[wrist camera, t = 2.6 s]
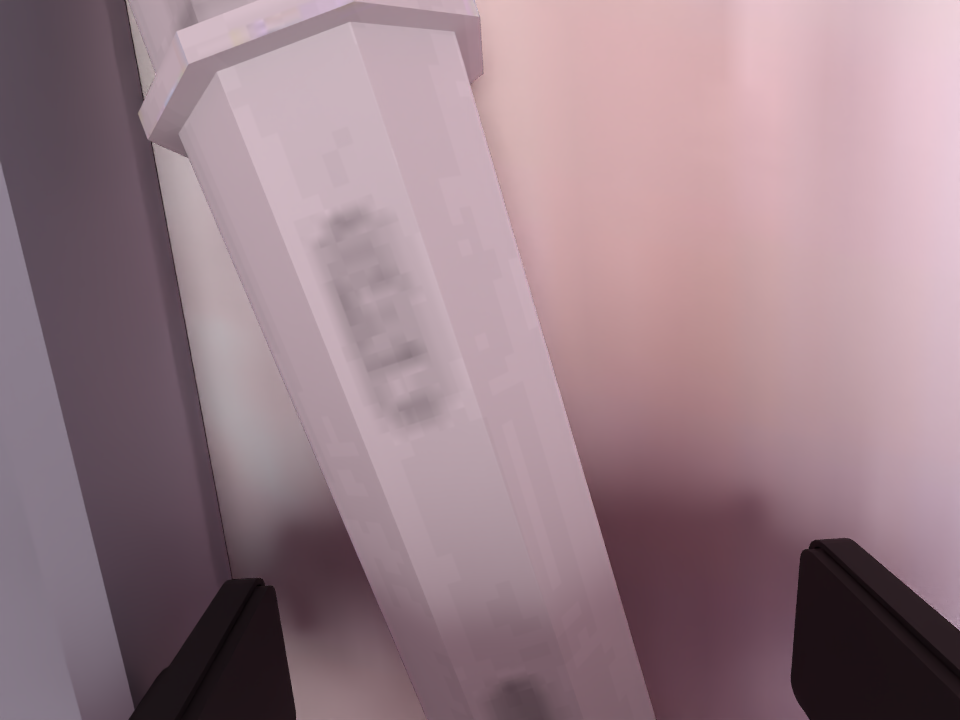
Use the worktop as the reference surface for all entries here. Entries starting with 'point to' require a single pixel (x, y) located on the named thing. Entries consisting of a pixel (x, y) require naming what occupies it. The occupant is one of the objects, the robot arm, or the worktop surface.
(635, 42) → the worktop surface
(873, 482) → the worktop surface
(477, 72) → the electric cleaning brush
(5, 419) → the tray
